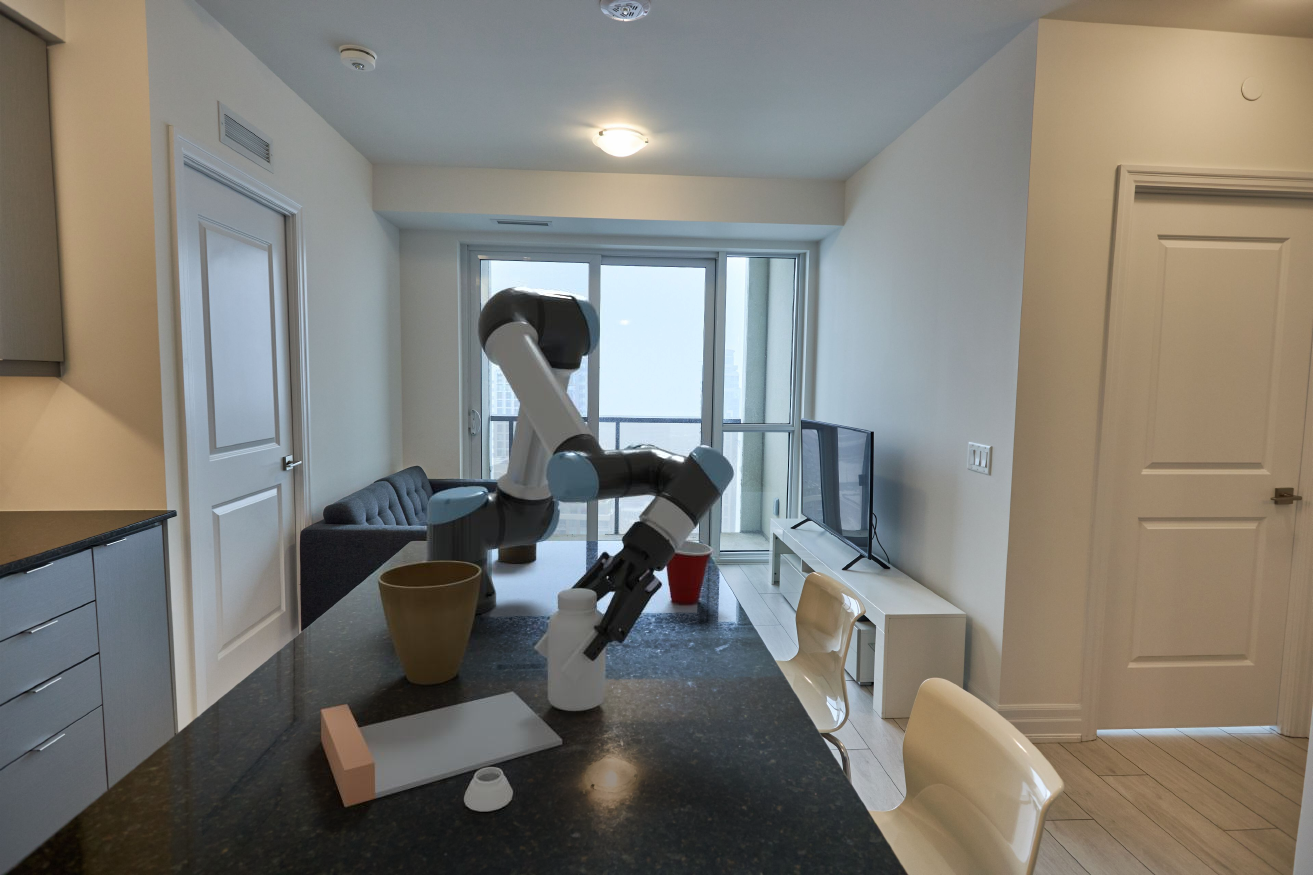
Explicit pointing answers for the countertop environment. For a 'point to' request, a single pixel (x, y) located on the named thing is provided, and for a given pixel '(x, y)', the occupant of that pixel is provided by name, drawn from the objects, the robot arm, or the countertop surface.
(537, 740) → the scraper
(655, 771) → the countertop surface
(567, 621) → the pill bottle
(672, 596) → the plastic cup
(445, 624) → the plant pot
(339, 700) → the countertop surface
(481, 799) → the lidless jar
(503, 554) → the pillar candle
